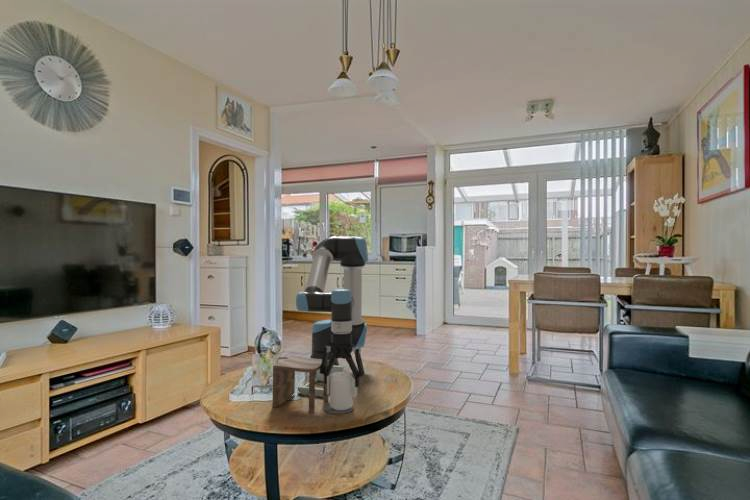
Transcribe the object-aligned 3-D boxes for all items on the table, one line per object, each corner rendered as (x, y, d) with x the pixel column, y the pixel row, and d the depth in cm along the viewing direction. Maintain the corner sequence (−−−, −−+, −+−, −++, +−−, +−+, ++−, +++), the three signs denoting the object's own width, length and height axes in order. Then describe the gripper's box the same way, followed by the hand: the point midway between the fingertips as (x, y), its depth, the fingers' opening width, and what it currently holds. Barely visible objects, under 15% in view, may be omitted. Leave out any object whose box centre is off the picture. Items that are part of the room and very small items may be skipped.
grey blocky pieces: (318, 378, 184) (318, 363, 184) (344, 381, 180) (344, 365, 180) (297, 393, 165) (298, 375, 165) (325, 396, 161) (326, 378, 161)
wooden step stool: (291, 394, 164) (291, 356, 164) (328, 399, 159) (329, 360, 159) (272, 407, 150) (273, 365, 150) (312, 413, 145) (313, 369, 146)
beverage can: (347, 412, 145) (348, 378, 145) (326, 409, 147) (327, 376, 147) (355, 404, 153) (355, 372, 153) (334, 402, 155) (335, 370, 155)
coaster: (330, 401, 157) (330, 400, 157) (357, 405, 154) (357, 403, 154) (318, 412, 146) (318, 410, 146) (347, 416, 143) (347, 414, 143)
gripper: (309, 332, 150) (309, 395, 149) (367, 335, 143) (367, 400, 143) (318, 329, 157) (318, 388, 156) (373, 331, 151) (374, 393, 150)
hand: (342, 394), depth 150 cm, fingers open, 9 cm apart
